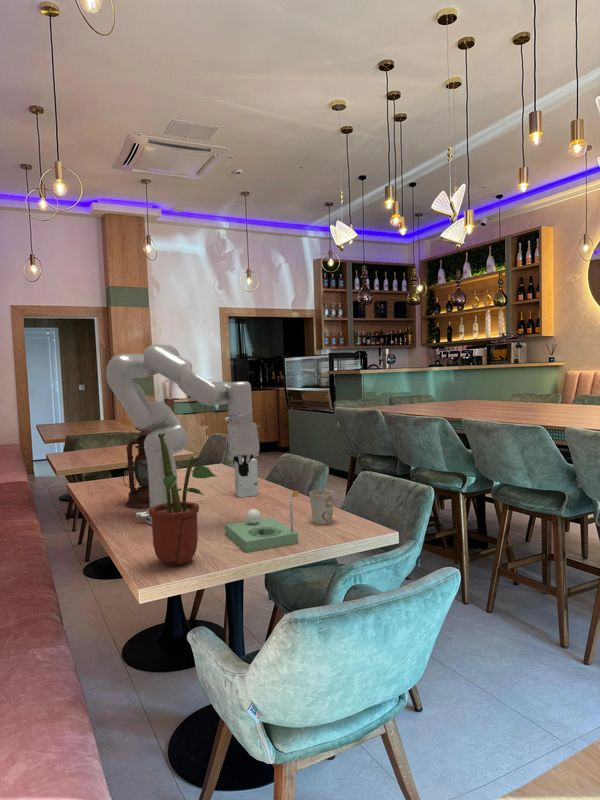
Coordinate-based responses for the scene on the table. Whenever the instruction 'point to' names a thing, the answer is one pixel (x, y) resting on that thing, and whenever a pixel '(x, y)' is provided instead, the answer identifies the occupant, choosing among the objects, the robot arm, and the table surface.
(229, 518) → the table surface
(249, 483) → the skincare box
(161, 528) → the potted plant
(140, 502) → the lantern
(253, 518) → the ball
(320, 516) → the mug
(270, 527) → the putting mat
